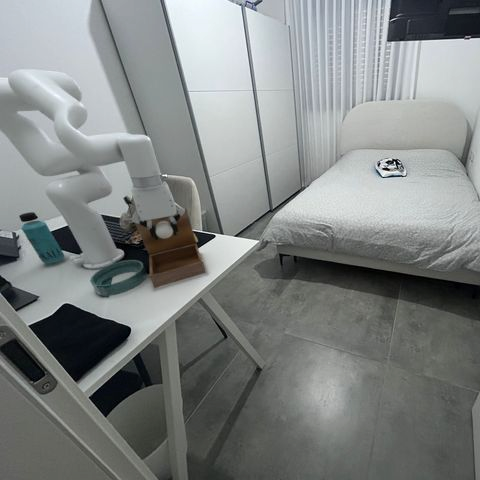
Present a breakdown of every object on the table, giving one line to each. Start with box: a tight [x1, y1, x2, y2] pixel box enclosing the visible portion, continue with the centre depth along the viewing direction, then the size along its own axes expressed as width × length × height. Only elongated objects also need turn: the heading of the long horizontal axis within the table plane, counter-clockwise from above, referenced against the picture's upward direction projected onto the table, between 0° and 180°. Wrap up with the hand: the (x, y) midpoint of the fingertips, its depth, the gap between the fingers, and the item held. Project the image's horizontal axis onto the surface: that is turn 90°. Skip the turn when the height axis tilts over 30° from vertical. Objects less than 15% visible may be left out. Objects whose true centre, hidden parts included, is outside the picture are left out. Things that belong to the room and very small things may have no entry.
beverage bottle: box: [18, 211, 65, 264], centre depth 93 cm, size 6×7×20 cm
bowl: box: [89, 259, 148, 297], centre depth 85 cm, size 14×14×4 cm
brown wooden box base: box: [148, 243, 207, 289], centre depth 91 cm, size 15×16×5 cm
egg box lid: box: [135, 207, 197, 256], centre depth 91 cm, size 15×16×5 cm
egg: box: [155, 221, 173, 239], centre depth 82 cm, size 7×5×5 cm
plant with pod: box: [119, 195, 142, 245], centre depth 108 cm, size 8×11×20 cm
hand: (166, 235), depth 83 cm, fingers closed on egg, 4 cm apart
